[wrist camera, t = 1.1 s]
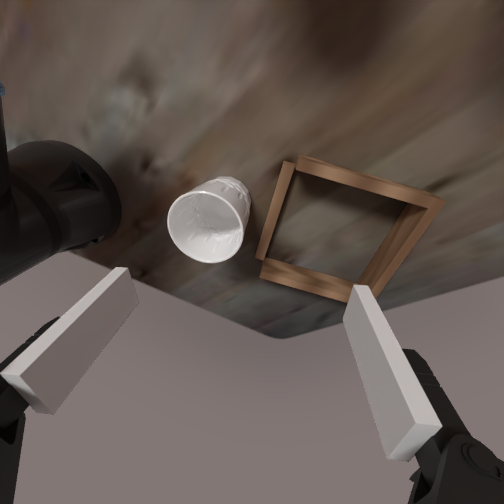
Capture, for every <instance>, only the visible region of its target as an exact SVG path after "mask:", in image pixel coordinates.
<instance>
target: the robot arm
mask: <svg viewBox="0 0 504 504" xmlns="http://www.w3.org/2000/svg"><path fill="white" fill-rule="evenodd" d="M3 95H5V88H4V86H3V84H2V83H1V81H0V286H1V285H2V284H4V283H6V282H7V281H9V280H11V279H13V278H14V277H16V276H18V275H20V274H21V273H23V272H25V271H26V270H28V269H30V268H32V267H33V266H35V265H37V264H39V263H40V262H42V261H44V260H46V259H47V258H49V257H51V256H52V255H54V254H56V253H61V252H65V251H70V250H75V249H79V248H84V247H89V246H93V245H96V244H98V243H100V242H102V241H103V240H105V239H107V238H108V237H110V236H111V235H112V234H113V233H114V232H115V231H116V229H117V228H118V226H119V223H120V219H121V206H120V201H119V197H118V194H117V192H116V190H115V187H114V185H113V184H112V182H111V180H110V179H109V177H108V176H107V174H106V173H105V172H104V170H103V169H102V168H101V167H100V166H99V165H98V164H97V163H96V162H95V161H94V160H93V159H92V158H91V157H89V156H88V155H87V154H85V153H84V152H82V151H81V150H79V149H77V148H76V147H74V146H72V145H69V144H66V143H63V142H59V141H52V140H47V141H35V142H28V143H25V144H22V145H20V146H18V147H16V148H14V149H12V150H10V151H8V152H7V145H6V137H5V129H4V119H3V109H2V99H1V96H3ZM138 303H139V301H138V297H137V294H136V291H135V288H134V285H133V282H132V279H131V276H130V272H129V269H128V268H123V267H115V268H114V269H113V270H112V271H111V272H110V273H109V274H108V275H107V276H105V278H103V279H102V280H101V281H100V282H99V283H98V284H97V285H96V286H95V287H93V289H91V290H90V291H89V292H88V293H87V294H86V295H85V296H84V297H83V298H81V299H80V300H79V301H78V302H77V303H76V304H75V305H74V306H73V307H72V308H70V309H69V310H68V311H67V312H66V313H65V314H64V315H63V316H62V317H57V318H55V319H53V320H51V321H50V322H48V323H47V324H45V325H44V326H42V327H41V328H40V329H39V330H38V331H37V332H36V333H35V334H34V336H31V337H30V338H29V339H28V340H27V341H26V342H25V343H24V344H22V345H21V346H20V347H19V348H17V349H16V350H15V351H14V352H13V353H12V354H11V355H10V356H8V357H7V358H6V359H5V360H4V361H3V362H2V363H0V504H13V500H14V494H15V487H16V481H17V474H18V467H19V460H20V454H21V447H22V440H23V433H24V427H25V419H26V417H25V413H24V411H25V409H26V408H27V407H28V406H29V405H30V406H31V407H32V408H33V409H34V410H35V411H36V412H37V413H44V414H52V415H53V414H55V412H56V411H57V410H58V408H59V407H60V405H61V404H62V403H63V402H64V400H65V399H66V398H67V396H68V395H69V394H70V392H71V391H72V390H73V388H74V387H75V386H76V385H77V383H78V382H79V381H80V379H81V378H82V377H83V375H84V374H85V373H86V371H87V370H88V369H89V367H90V366H91V365H92V363H93V362H94V361H95V360H96V358H97V357H98V356H99V354H100V353H101V352H102V350H103V349H104V348H105V346H106V345H107V344H108V342H109V341H110V340H111V338H112V337H113V336H114V334H115V333H116V332H117V330H118V329H119V328H120V327H121V325H122V324H123V323H124V321H125V320H126V319H127V317H128V316H129V315H130V313H131V312H132V311H133V309H134V308H135V307H136V305H137V304H138ZM343 322H344V326H345V329H346V332H347V335H348V338H349V341H350V345H351V348H352V350H353V354H354V357H355V360H356V363H357V367H358V370H359V373H360V376H361V379H362V382H363V386H364V389H365V392H366V395H367V398H368V402H369V405H370V408H371V411H372V414H373V418H374V420H375V424H376V426H377V430H378V433H379V436H380V440H381V443H382V446H383V449H384V452H385V455H386V459H391V460H399V461H407V462H409V461H410V460H411V459H412V458H413V457H414V456H416V459H417V461H418V463H419V466H420V468H419V469H418V470H417V471H416V472H415V473H414V474H413V475H412V476H411V477H410V480H411V481H412V482H414V485H413V488H412V491H411V495H410V498H409V501H408V504H504V462H503V461H502V460H500V459H498V458H497V457H496V456H495V455H494V454H493V452H492V451H490V449H488V448H487V447H486V446H485V445H483V444H482V443H481V442H480V441H478V440H476V439H474V438H473V437H472V436H471V435H470V433H469V432H468V430H467V429H466V427H465V425H464V424H463V422H462V420H461V419H460V417H459V416H458V414H457V412H456V410H455V409H454V407H453V406H452V404H451V402H450V400H449V399H448V397H447V396H446V394H445V392H444V391H443V389H442V388H441V387H440V384H439V382H438V381H437V379H436V377H435V376H434V375H433V373H432V371H431V369H430V367H429V366H428V364H427V362H426V361H425V360H424V359H423V358H422V357H421V356H420V355H419V354H418V353H417V352H416V351H415V350H411V349H401V347H400V345H399V343H398V341H397V339H396V338H395V336H394V334H393V332H392V330H391V328H390V326H389V325H388V323H387V321H386V319H385V317H384V315H383V313H382V311H381V309H380V307H379V305H378V304H377V302H376V300H375V298H374V296H373V294H372V292H371V290H370V289H369V287H368V286H366V285H353V288H352V291H351V295H350V298H349V301H348V304H347V307H346V311H345V314H344V317H343Z"/></svg>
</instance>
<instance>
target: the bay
mask: <svg viewBox="0 0 504 504" xmlns="http://www.w3.org/2000/svg"><path fill="white" fill-rule="evenodd" d="M294 167H295V168H296V170H298V171H302V172H305V173H308V174H312V175H315V176H319V177H322V178H326V179H329V180H332V181H336V182H339V183H343V184H346V185H350V186H353V187H356V188H360V189H363V190H367V191H370V192H374V193H377V194H380V195H384V196H387V197H391V198H394V199H398V200H401V201H404V202H408V203H407V205H406V207H405V208H404V210H403V211H402V213H401V214H400V216H399V218H398V219H397V221H396V222H395V224H394V226H393V227H392V229H391V230H390V232H389V233H388V235H387V237H386V238H385V240H384V241H383V243H382V244H381V246H380V248H379V249H378V251H377V252H376V254H375V255H374V257H373V259H372V260H371V262H370V263H369V265H368V267H367V268H366V270H365V271H364V273H363V274H362V276H361V278H360V279H359V281H358V282H357V283H354V282H351V281H347V280H344V279H340V278H337V277H333V276H330V275H326V274H323V273H319V272H316V271H313V270H309V269H306V268H302V267H299V266H295V265H292V264H288V263H285V262H281V261H278V260H274V259H271V258H267V257H265V255H266V252H267V249H268V246H269V243H270V240H271V237H272V234H273V231H274V228H275V225H276V222H277V219H278V216H279V213H280V210H281V207H282V204H283V201H284V198H285V195H286V192H287V189H288V186H289V183H290V180H291V177H292V174H293V170H294ZM445 202H446V201H445V200H443V199H441V198H439V197H437V196H435V195H433V194H431V193H429V192H427V191H424V190H420V189H417V188H413V187H410V186H407V185H403V184H400V183H396V182H393V181H389V180H386V179H383V178H379V177H376V176H372V175H369V174H366V173H362V172H359V171H355V170H352V169H348V168H345V167H342V166H338V165H335V164H331V163H328V162H325V161H321V160H318V159H314V158H311V157H307V156H304V155H301V154H298V156H297V159H296V162H295V164H293V163H290V162H286V161H284V162H283V165H282V169H281V172H280V175H279V179H278V182H277V185H276V188H275V192H274V195H273V198H272V202H271V205H270V208H269V211H268V215H267V218H266V221H265V225H264V228H263V231H262V234H261V238H260V241H259V244H258V247H257V251H256V254H255V258H256V259H259V260H263V262H262V266H261V272H260V278H262V279H265V280H269V281H272V282H276V283H279V284H283V285H286V286H290V287H293V288H297V289H300V290H304V291H307V292H311V293H314V294H318V295H321V296H325V297H328V298H332V299H335V300H339V301H342V302H346V303H348V301H349V298H350V295H351V291H352V288H353V285H366V286H368V287H369V289H370V290H371V292H372V294H373V296H374V298H375V299H376V298H377V296H378V295H379V294H380V292H381V291H382V289H383V288H384V287H385V285H386V284H387V283H388V281H389V280H390V278H391V277H392V276H393V274H394V273H395V271H396V270H397V269H398V267H399V266H400V265H401V263H402V262H403V260H404V259H405V258H406V256H407V255H408V254H409V252H410V251H411V249H412V248H413V247H414V245H415V244H416V242H417V241H418V240H419V238H420V237H421V236H422V234H423V233H424V231H425V230H426V229H427V227H428V226H429V225H430V223H431V222H432V220H433V219H434V218H435V216H436V215H437V213H438V212H439V211H440V209H441V208H442V207H443V205H444V204H445Z"/></svg>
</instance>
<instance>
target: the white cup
mask: <svg viewBox="0 0 504 504" xmlns="http://www.w3.org/2000/svg"><path fill="white" fill-rule="evenodd" d="M250 206H251V199H250V195H249V191H248V190H247V188H246V187H245V186H244V185H243V183H242V182H241V181H239V180H237V179H235V178H233V177H218V178H216V179H214V180H211V181H208V182H206V183H204V184H202V185H199V186H198V187H196V188H194V189H193V190H191V191H189V192H187V193H185V194H184V195H182V196H180V197H179V198H178V199H176V200H175V202H174V203H173V204H172V206H171V208H170V210H169V213H168V218H167V224H168V230H169V233H170V236H171V238H172V240H173V242H174V243H175V244H176V246H177V247H178V248H179V249H180V250H181V251H182V252H183V253H184V254H186V255H187V256H189V257H190V258H192V259H195V260H197V261H200V262H205V263H218V262H222V261H225V260H227V259H229V258H231V257H232V256H233V255H234V254H235V253H236V252H237V251H238V250H239V248H240V246H241V244H242V241H243V237H244V233H245V230H246V226H247V223H248V219H249V214H250Z"/></svg>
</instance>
